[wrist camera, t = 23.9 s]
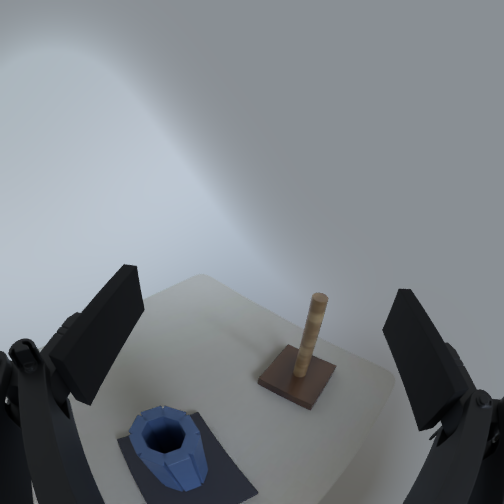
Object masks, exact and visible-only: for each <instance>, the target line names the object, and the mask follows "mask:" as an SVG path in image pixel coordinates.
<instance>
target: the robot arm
mask: <svg viewBox="0 0 504 504" xmlns="http://www.w3.org/2000/svg"><path fill="white" fill-rule="evenodd" d="M144 310H145V309H144V304H143V299H142V294H141V289H140V283H139V277H138V271H137V266H133V265H125V264H124V265H123V266H122V267H121V268H120V269H119V270H118V271H117V272H116V273H115V275H114V276H113V277H112V278H111V279H110V280H109V281H108V282H107V284H106V285H105V286H104V287H103V288H102V289H101V290H100V291H99V293H98V294H97V295H96V296H95V297H94V298H93V299H92V301H91V302H90V303H89V304H88V306H87V307H86V308H85V309H84V310H83V311H82V313H78V312H76V313H75V314H73V315H72V316H70V317H69V318H67V319H66V321H65V322H64V323H63V324H62V327H60V328H59V329H58V330H57V333H55V334H54V335H53V337H52V338H51V339H50V340H49V342H48V343H47V344H46V346H45V347H44V348H43V349H42V351H41V352H40V353H39V351H38V349H37V347H36V345H35V344H34V342H33V341H32V340H30V339H21V340H18V341H16V342H15V343H14V344H13V345H12V346H11V348H10V349H9V353H8V354H9V356H10V358H11V359H12V361H10V360H9V359H8V357H7V355H6V354H5V353H4V352H2V351H0V504H33V495H32V484H33V487H34V491H35V494H36V497H37V500H38V503H39V504H105V503H104V500H103V498H102V496H101V494H100V492H99V490H98V487H97V485H96V483H95V480H94V478H93V475H92V473H91V470H90V468H89V465H88V462H87V459H86V457H85V454H84V451H83V448H82V445H81V441H80V438H79V435H78V431H77V428H76V424H75V421H74V417H73V413H72V409H71V404H70V401H69V399H68V395H69V394H70V392H71V393H72V395H73V396H74V398H75V399H76V400H78V401H80V402H82V403H85V404H87V405H90V406H91V404H92V402H93V400H94V398H95V396H96V394H97V392H98V390H99V388H100V386H101V385H102V383H103V381H104V379H105V377H106V375H107V373H108V372H109V370H110V368H111V366H112V364H113V363H114V361H115V359H116V357H117V356H118V354H119V352H120V350H121V349H122V347H123V345H124V343H125V342H126V340H127V338H128V337H129V335H130V333H131V331H132V330H133V328H134V326H135V325H136V323H137V321H138V320H139V318H140V316H141V315H142V313H143V312H144ZM382 330H383V333H384V335H385V338H386V340H387V342H388V345H389V347H390V350H391V353H392V355H393V358H394V360H395V363H396V365H397V368H398V371H399V373H400V376H401V379H402V381H403V384H404V387H405V390H406V393H407V395H408V398H409V401H410V404H411V407H412V410H413V414H414V417H415V420H416V423H417V426H418V430H419V431H423V430H427V429H431V428H433V427H434V426H435V425H436V424H437V423H438V422H439V421H440V420H441V423H442V426H441V427H440V428H439V429H438V430H437V431H436V432H435V433H434V434H433V435H432V436H431V437H430V439H429V440H432V439H433V438H434V437H435V436H436V438H435V440H434V443H433V445H432V447H431V450H430V452H429V454H428V456H427V459H426V461H425V463H424V465H423V467H422V469H421V471H420V473H419V475H418V477H417V479H416V481H415V483H414V485H413V487H412V488H411V490H410V492H409V494H408V495H407V497H406V499H405V500H404V502H403V504H504V397H503V398H502V399H501V400H498V399H492V398H491V396H490V395H489V394H488V393H487V392H486V391H484V390H477V389H476V387H475V385H474V384H473V381H472V379H471V378H470V375H469V374H468V372H467V370H466V368H465V366H463V363H462V361H461V360H460V357H459V355H458V354H457V352H456V350H455V349H454V348H453V347H452V346H451V345H450V344H449V343H444V341H443V339H442V337H441V336H440V334H439V332H438V331H437V329H436V327H435V326H434V324H433V323H432V321H431V319H430V318H429V316H428V315H427V313H426V312H425V310H424V308H423V307H422V305H421V304H420V303H419V301H418V299H417V298H416V296H415V295H414V293H413V292H412V290H411V289H398V292H397V295H396V298H395V300H394V303H393V305H392V308H391V310H390V313H389V315H388V318H387V320H386V323H385V325H384V327H383V329H382ZM6 397H7V398H8V402H7V404H6V403H5V399H6ZM498 434H499V440H497V441H496V442H495V440H494V437H495V436H497V435H498ZM31 480H32V483H31Z"/></svg>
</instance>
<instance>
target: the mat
mask: <svg viewBox="0 0 504 504" xmlns="http://www.w3.org/2000/svg"><path fill="white" fill-rule="evenodd" d="M190 417H191V419H192V420H193V422H194V423H195V425H196V427H197V428H198V430H199V431H200V435H201V440H202V445H203V449H204V454H205V458H206V462H207V466H208V472H207V475H206V478H205V481H204V483H201V486H199V487H197V488H194V489H191V490H189V491H185V490H184V489H183V491H178V490H175V489H172V488H170V487H167V486H165V485H164V484H162V483H161V482H160V480H159V479H158V478H157V477H156V476H155V475H154V474H153V473H152V472H151V471H150V469H149V468H148V467H147V466H146V465H145V464H144V462H143V461H142V460H141V459H140V458H139V456H138V455H137V454H136V452H135V450H134V447H133V445H132V443H131V440H130V438H129V436H127V437H124V438H120V439H117V441H118V443H119V446H120V448H121V451H122V453H123V455H124V458H125V460H126V462H127V464H128V467H129V469H130V471H131V473H132V475H133V477H134V479H135V481H136V483H137V485H138V487H139V489H140V491H141V493H142V495H143V497H144V499H145V500H146V502H147V504H239V503H241V502H243V501H245V500H247V499H249V498H251V497H253V496H255V495H256V494H258V491H257V490H256V489H255V488H254V487H253V485H252V484H251V483H250V482H249V481H248V479H247V478H246V477H245V476H244V475H243V473H242V472H241V471H240V470H239V468H238V467H237V466H236V465H235V463H234V462H233V461H232V459H231V458H230V457H229V455H228V454H227V453H226V451H225V450H224V449H223V447H222V446H221V445H220V443H219V442H218V441H217V439H216V438H215V436H214V435H213V433H212V432H211V431H210V429H209V428H208V426H207V425H206V423H205V422H204V420H203V419H202V417H201V416H200V414H199V413H198V412H196V413H194V414H191V415H190Z"/></svg>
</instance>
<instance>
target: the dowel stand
mask: <svg viewBox="0 0 504 504" xmlns="http://www.w3.org/2000/svg"><path fill="white" fill-rule="evenodd" d="M327 302H328V297H327V296H326V295H325V294H323V293H315V294H313V295H312V299H311V303H310V308H309V312H308V316H307V320H306V324H305V328H304V332H303V336H302V340H301V344H300V348H299V349H297V348H295V347H293V346H291V345H287V346H286V347H285V349H284V350H283V351H282V352H281V353H280V354H279V356H278V357H277V358H276V359H275V360H274V361H273V362H272V364H271V365H270V366H269V367H268V368H267V369H266V370H265V371H264V373H263V374H262V375H261V376H260V377H259V378H258V384H259V385H261V386H263V387H265V388H267V389H268V390H270V391H272V392H274V393H276V394H278V395H280V396H282V397H284V398H286V399H288V400H290V401H292V402H294V403H296V404H298V405H300V406H302V407H304V408H306V409H308V410H311V409H312V407H313V406H314V404H315V403H316V401H317V399H318V398H319V396H320V394H321V393H322V391H323V389H324V388H325V386H326V384H327V383H328V381H329V379H330V378H331V376H332V374H333V372H334V370H335V368H336V365H333V364H331V363H329V362H326V361H324V360H322V359H319V358H317V357H315V356H313V355H312V354H313V350H314V347H315V344H316V341H317V337H318V334H319V331H320V327H321V324H322V320H323V317H324V313H325V309H326V306H327Z"/></svg>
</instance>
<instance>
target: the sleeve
mask: <svg viewBox="0 0 504 504" xmlns="http://www.w3.org/2000/svg"><path fill="white" fill-rule="evenodd" d="M141 415H142V416H140V415H137V417H136V419H135V421H134V422H133V424H132V426H131V428H130V430H129V433H130V434H131V435H129V438H130V440H131V443H132V445H133V447H134V450H135V452H136V454H137V455H138V456H139V458H140V459H141V460H142V461H143V462H144V464H145V465H146V466H147V467H148V468H149V469H150V471H151V472H152V473H153V474H154V475H155V476H156V477H157V478H158V479H159V480H160V482H161V483H162V484H164V485H165V486H167V487H170V488H172V489H175V490H178V491H183V489H184V490H185V491H189V490H191V489H194V488H197V487H199V486H201V483H204V481H205V478H206V475H207V472H208V466H207V462H206V458H205V454H204V449H203V445H202V440H201V435H200V431H199V430H198V428H197V427H196V425H195V423H194V422H193V420H192V419H191V417H190V415H186V412H183V411H180V410H177V409H173V408H170V407H167V406H164V408H163V409H162V407H161V406H158V407H155V408H152V409H149V410H146V411H143V412H141Z"/></svg>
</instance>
